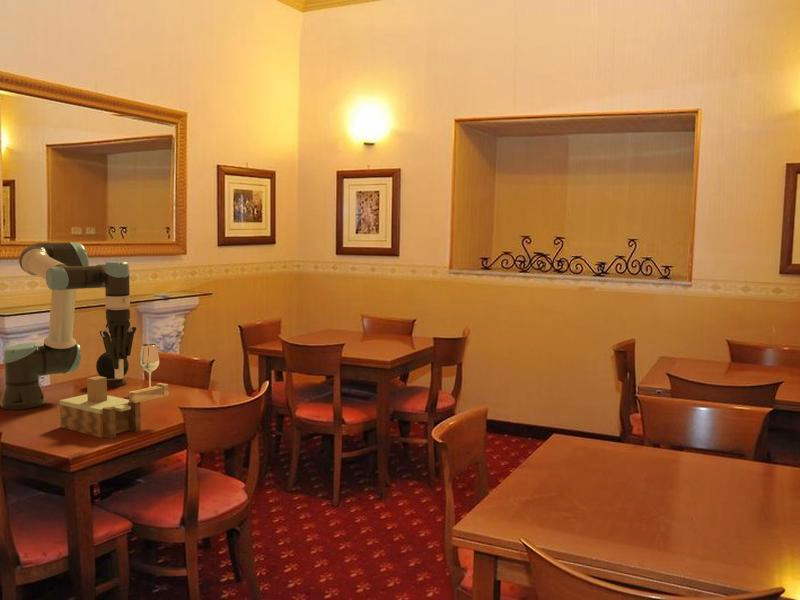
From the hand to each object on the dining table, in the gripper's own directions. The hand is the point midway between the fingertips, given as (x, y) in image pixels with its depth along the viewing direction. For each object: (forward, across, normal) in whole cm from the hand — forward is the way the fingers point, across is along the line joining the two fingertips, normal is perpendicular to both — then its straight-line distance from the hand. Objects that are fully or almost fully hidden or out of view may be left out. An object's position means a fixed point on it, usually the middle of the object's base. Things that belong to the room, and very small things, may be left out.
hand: (119, 378), depth 252 cm
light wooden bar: (+9, +11, -1) cm, 15 cm away
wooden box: (+19, 0, +10) cm, 22 cm away
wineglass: (+20, +45, +40) cm, 64 cm away
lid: (+12, 0, +10) cm, 16 cm away
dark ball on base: (+21, +45, +64) cm, 81 cm away
